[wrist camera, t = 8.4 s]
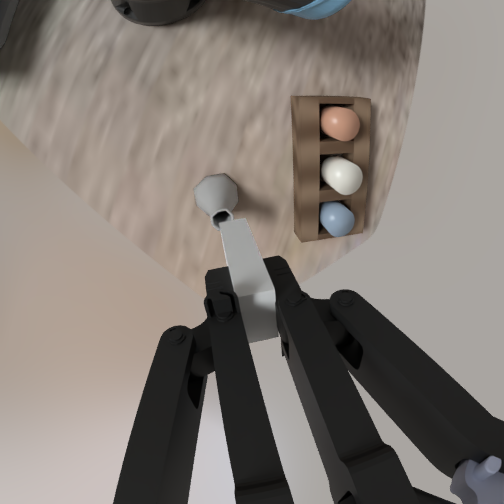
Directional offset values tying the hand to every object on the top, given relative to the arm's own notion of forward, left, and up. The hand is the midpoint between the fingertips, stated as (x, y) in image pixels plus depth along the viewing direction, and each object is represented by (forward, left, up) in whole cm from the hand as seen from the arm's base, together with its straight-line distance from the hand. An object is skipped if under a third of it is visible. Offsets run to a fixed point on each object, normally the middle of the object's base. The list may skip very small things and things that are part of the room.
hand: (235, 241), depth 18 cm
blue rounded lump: (+14, +19, -30) cm, 38 cm away
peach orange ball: (-2, +19, -30) cm, 36 cm away
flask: (+9, 0, -31) cm, 33 cm away
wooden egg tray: (+6, +19, -31) cm, 37 cm away
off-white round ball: (+6, +19, -28) cm, 35 cm away
